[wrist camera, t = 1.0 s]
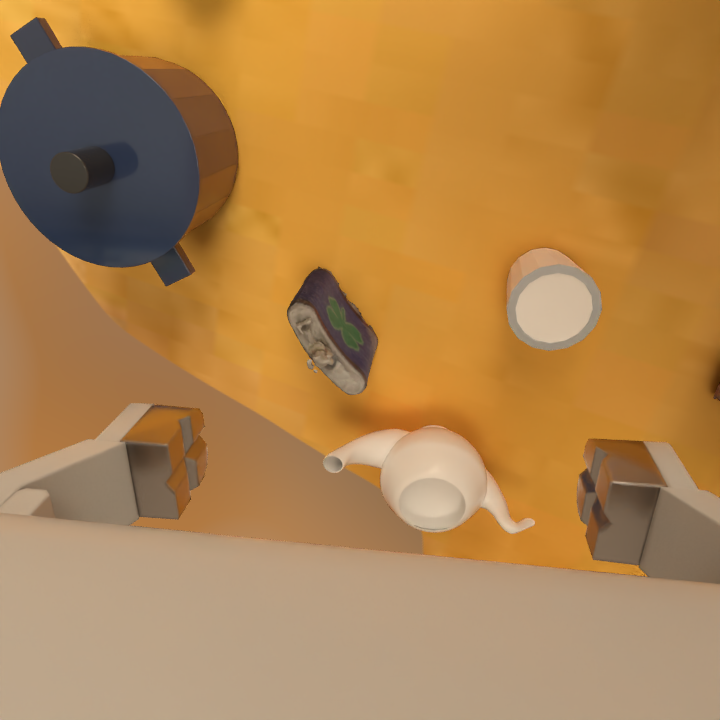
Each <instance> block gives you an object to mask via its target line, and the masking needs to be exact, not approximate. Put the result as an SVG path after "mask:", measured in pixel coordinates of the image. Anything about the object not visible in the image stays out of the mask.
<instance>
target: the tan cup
mask: <svg viewBox="0 0 720 720" xmlns="http://www.w3.org/2000/svg"><path fill="white" fill-rule="evenodd" d="M601 310H602V305H601V292H600V291H599V289H598V287H597V286H596V284H595V282H594V280H593V279H592V277H590V276H589V275H588V274H587V273H586V272H585V271H583V270H582V269H581V268H580V267H579V266H578V265H577V264H575V263H574V262H573V261H572V260H571V259H570V258H568V257H567V256H565V255H564V254H563V253H561V252H560V251H558V250H554V249H549V248H539V249H534V250H530V251H528V252H527V253H525V254H523V255H522V256H520V257H519V258H518V259H517V260H516V262H515V263H514V264H513V265H512V267H511V268H510V272H509V275H508V279H507V314H508V321H509V325H510V327H511V328H512V330H513V331H514V333H515V334H516V336H517V338H519V339H520V340H522V341H523V342H525V343H526V344H528V345H529V346H531V347H534V348H538V349H543V350H548V351H550V350H557V349H564V348H568V347H570V346H572V345H574V344H576V343H578V342H579V341H581V340H583V339H584V338H585V337H586V336H587V335H588V334H589V333H590V332H591V331H592V330H593V328H594V327H595V326H596V324H597V321H598V319H599V316H600V313H601Z"/></svg>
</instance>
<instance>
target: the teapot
mask: <svg viewBox="0 0 720 720" xmlns="http://www.w3.org/2000/svg"><path fill="white" fill-rule="evenodd" d="M351 464H362V465H368V466H372V467H376V468H380V469H381V473H380V487H381V491H382V495H383V497H384V499H385V501H386V503H387V504H388V505H389V507H390V509H391V510H392V511H393V512H394V513H395V514H396V515H397V516H398V517H399V518H400V519H401V520H402V521H404V522H405V523H406V524H408V525H410V526H411V527H413V528H415V529H418V530H421V531H425V532H433V533H437V532H445V531H449V530H452V529H454V528H456V527H458V526H460V525H462V524H463V523H464V522H466V521H467V520H468V519H469V518H471V517H472V516H473V515H474V514H475V513H476V512H477V511H478V510H479V508H484V509H487V510H488V511H489V512H490V513H491V514H492V515H493V516H494V517H495V519H496V521H497V522H498V523H499V525H500V526H501V527H502V528H503V529H504V530H505V531H506V532H508V533H511V534H514V533H518V532H520V531H523V530H525V529H527V528H530V527H532V526H534V525H535V521H534V520H533V519H530V518H524V519H522V520H521V521H519V522H514V521H513V520H512V519H511V517H510V514H509V510H508V506H507V503H506V500H505V498H504V496H503V494H502V492H501V490H500V488H499V486H498V485H497V483H496V481H495V479H494V478H493V477H492V475H491V474H490V473H489V472H488V470H487V469H486V468H485V465H484V463H483V460H482V458H481V456H480V455H479V453H478V452H477V450H476V449H475V448H474V447H473V445H472V444H471V443H470V442H469V441H467V440H466V439H465V438H464V437H462V436H461V435H459V434H457V433H455V432H453V431H451V430H448V429H447V428H445V427H442V426H438V425H429V426H425V427H422V428H420V429H417V430H414V431H412V432H409V431H406V430H402V429H385V430H380V431H375V432H372V433H369V434H366V435H363V436H361V437H358V438H356V439H354V440H352V441H351V442H349V443H347V444H345V445H343V446H341V447H340V448H338V449H336V450H334V451H332V452H331V453H329V454H328V455H327V456H326V457H325V458H324V460H323V466H324V468H325V469H326V470H327V471H329V472H333V473H336V472H339V471H341V470H342V469H343V468H344V467H346V466H347V465H351Z"/></svg>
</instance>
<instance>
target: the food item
mask: <svg viewBox="0 0 720 720" xmlns="http://www.w3.org/2000/svg"><path fill="white" fill-rule="evenodd" d="M713 398H714V399H716V398H717V399H718V400H719V401H720V383H719V385H718V387H717V389H716V391H715V395H714V397H713Z"/></svg>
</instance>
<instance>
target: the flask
mask: <svg viewBox="0 0 720 720" xmlns="http://www.w3.org/2000/svg"><path fill="white" fill-rule="evenodd" d="M287 316H288V320H289V323H290V325H291V326H292V328H293V330H294V332H295V334H296V336H297V338H298V339H299V341H300V343H301V345H302V346H303V348H304V350H305V351H306V352H307V354H308V355H309V357H310V358H311V359H312V360H313V362H314V363H315V366H317V367H318V368H319V369H320V370H321V371H322V372H323V373H324V374H325V375H326V376H327V377H328V378H329V379H330V380H331V381H332V382H333V383H334V384H335V385H336V386H337V387H339V388H340V389H341V390H342V391H344V392H345V393H347V394H349V395H356V394H359V393H362V392H363V391H364V389H365V388H366V386H367V380H368V376H369V372H370V367H371V364H372V360H373V357H374V354H375V351H376V348H377V344H378V339H377V337H376V335H375V333H374V331H373V329H372V327H371V326H370V325H369V326H368V325H367V324H366V322H365V321H364V319H363V318H362V316H361V313H360V312H359V310H358V308H357V307H356V306H355V305H354V304H353V303H352V304H351V302H349V301H348V300H347V298H346V294H345V293H344V292H342V291H341V289H340V288H339V283H337V281H336V280H335V277H334V276H333V275H332V273H331V272H330V271H328V270H326V269H322V268H320V267H318V269H316V270H313V271H312V272H311V273H310V274H309V275H308V276H307V278H306V279H305V281H304V283H303V285H302V286H301V288H300V290H299V291H298V293H297V294H296V296H295V297H294V299H293V300H292V302H291V304H290V306H289V308H288V310H287ZM312 360H309V359H308V360H307V365H308V368H309V369H313V367H314V366H313V365H312ZM314 372H315V373H317V370H314Z"/></svg>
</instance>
